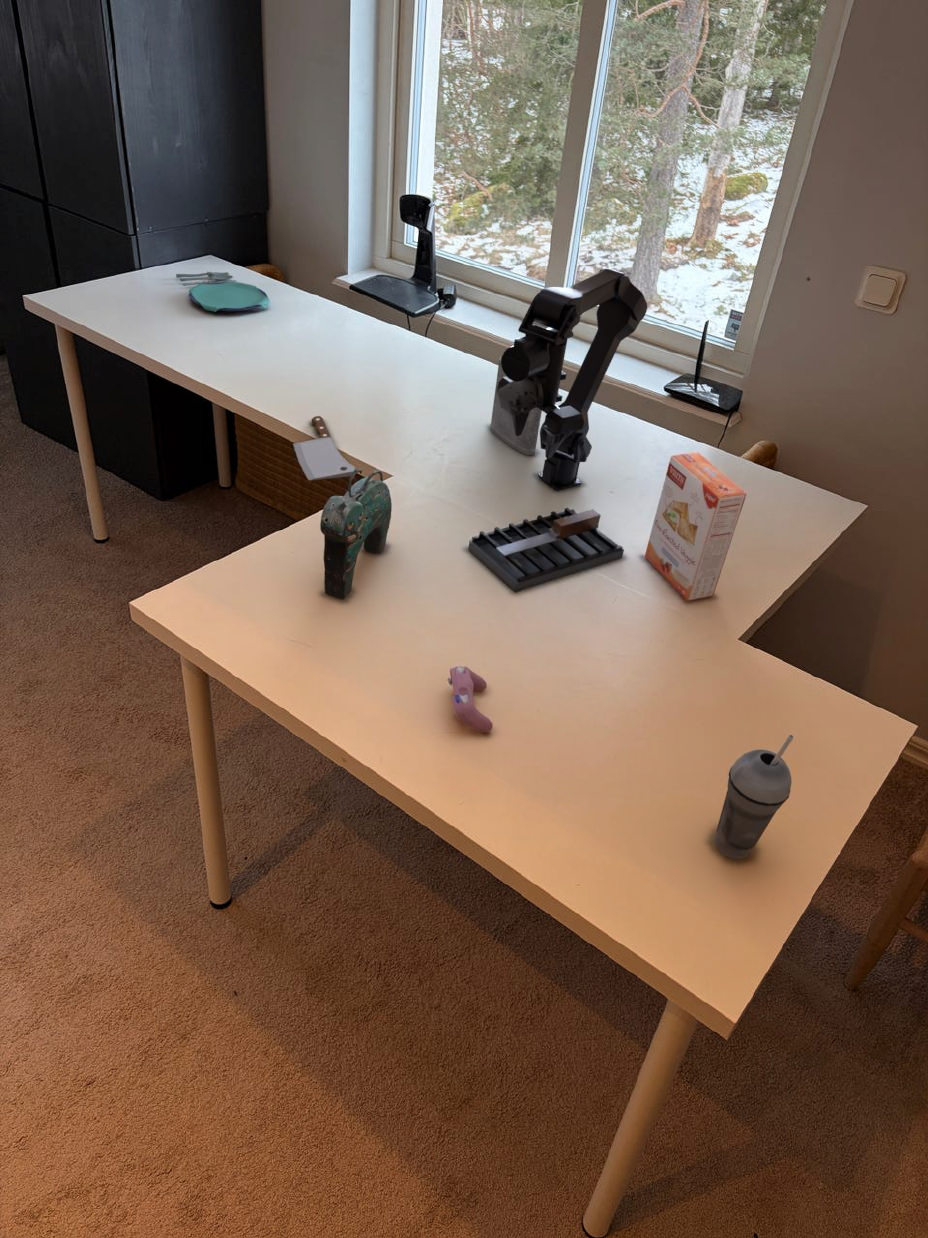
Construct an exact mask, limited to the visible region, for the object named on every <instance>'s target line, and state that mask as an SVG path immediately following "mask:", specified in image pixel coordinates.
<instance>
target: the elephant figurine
mask: <svg viewBox="0 0 928 1238" xmlns="http://www.w3.org/2000/svg"><path fill="white" fill-rule="evenodd" d="M358 473H359V474H360V475H361V474H362V473H363V469H360V468H357V469H355V471H354V472H353V473H352V475H351V476H349V479H348V487H347V491H346V492H345V494H344V495H333V496H331V497H329V498H328V500H327V501H326V503H325V504H324V507H323V508H322V509H323V510H322V513H321V516H320V522H319V523H320V527H319V529H320V533H321V534H322V535H324V537H323V538H324V542H323V543H324V545H323V548H324V549H323V566H324V573H323V574H324V575H323V576H324V577H323V578H324V580H323V583H324V594H325V595H329V596H331V597H333V598H337V599H341V600H345V599H346V598H347V596H348V595H349V594H350V593H351V592H352V587H353V581H354V576H355V575H354V574H355V569H356V565H357V562H358V557H359V554H360V551H361V549H362V548H363V551H366V552H370V553H372V554H381V553H382V552H383V551H384V550H385V548H386V544H387V537H388V533H389V529H390V525H391V519H392V508H393V507H392V506H393V504H392V496H391V493H390V492H391V491H390V489H389V486H388V485H387V484H386V482H384V479H383V472H382V470H379V469H377V470H374V471H373V472H371V473H370V474H369V475H368V476H367V477H363V478H360V480H358V481H356V482H355V483H354V484H352V482H353V480H354V478H355V476H356V474H358ZM377 474H379V476H380V477H379V479H376V478H373V476H376V475H377ZM351 484H352V485H351Z"/></svg>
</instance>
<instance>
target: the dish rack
mask: <svg viewBox="0 0 928 1238" xmlns="http://www.w3.org/2000/svg"><path fill="white" fill-rule="evenodd" d="M574 514H578V513H577V512H576V510H575V509H574V508H572V509H570V508H569V507H565V508H564V509H563V511H561V512H558V513H557V512H555V511H551V512H550V515H546V516H542V515H541V514H539V515H537V516H536V518H535V519H532V520H528V519H527V518H525V519H523V520H522V523H518V524H514V523H513V522H510V523H509V524H508V526H507V527H504V528H499V526H496V527H493V528H494V529H493V531H490V532H485V531H483V530H481V531H479V533H478V535H475V536H472V538H471V540H469V541H468V547H467V548H468V549H467V550H468V552H470V553H471V554H472V555H473V556H474V557H476V559H478V560H479V561H480V562H481V563H482V564H483V565H484V566H486V568H487V569H489V571H491V572H492V573H493V574H494V575H495V576H496V577H497V578H498V579H500V580H501V581H502V582H503V583H504V584H505V585H506V586H507V587H509V588H510V589H511V590H512V591H513V592H514V593H517V592H521V591H524V590H527V589H531V588H534V587H537V586H539V585H542V584H546V583H549V582H552V581H555V580H558V579H561V578H565V577H567V576H570V575H574V574H576V573H580V572H582V571H586V570H589V569H592V568H595V567H598V566H601V565H604V564H607V563H611V562H614V561H616V560H620V559H623V556H624V552H625V549H624V548H623V546H622V545H619V544H618V543H616V542H615V541H614V540H613V539H611V538H610V537H608V535H606V534H605V533H603V532H602V531H601V530H599V528H597V529H593V530H590V531H587V532H583V533H580V534H576V535H573V536H570V537H566V538H563V539H560V540H559V541H556V542H553V543H549V544H546V545H543V546H539V547H536V548H532V549H529V550H526V551H522V552H519V553H516V554H512V555H509V556H506V557H504V556H503V555H502V554H501V553H500V552H499V551H497V550H496V548H497V547H500V546H504V545H507V544H511V543H514V542H517V541H521V540H524V539H528V538H531V537H535V536H538V535H541V534H545V533H548V529H550V528H553V523H554V520H557V519H560V518H564V517H567V516H571V515H574Z"/></svg>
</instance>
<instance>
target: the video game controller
mask: <svg viewBox="0 0 928 1238" xmlns="http://www.w3.org/2000/svg"><path fill="white" fill-rule="evenodd" d="M449 675H450V677H448V678H447V682H448V684H449V686H451V687H452V691H453V697H452V699H451V701H452V706H453V710H454V713H455V715H456V717H457V720H458V721H460V722H462V723H464V724H465V725H467V726H468V727H469V728H471V729H473V730H475V731H477V732H482V733H489V732H490V731H491V730H492V729H493V726H494V725H493V722H492V721H491V719H490V718H489V717H488V716H485V715H484V714H483V713H482V712H481V711H480V710H478V709H477V708H476V706H475V699H474V691H475V692H483V691H485V690H486V689H487V685H488V684H487V681H486V680H485V679H484V678H483V677H482V676H481V675H479V674H477V673H475V672H474V671H472V669H470V668H469V667H468V666H464V665H463V666H455V667H452V668H450V669H449Z"/></svg>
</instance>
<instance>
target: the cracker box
mask: <svg viewBox="0 0 928 1238" xmlns="http://www.w3.org/2000/svg"><path fill="white" fill-rule="evenodd" d="M659 496H660V498H659V499H658V503H657V508H656V512H655V515H654V519H653V523H652V527H651V531H650V534H649V539H648V542H647V546H646V550H645V553H644V558H646V559H647V561H648V562H650V564H651V565H653V567H654V568H655V569H656V570H657V571H658V573H659V574H661V575H662V577H663V578H664V579H665V580H666V581H667V582H668V583H669V584H670V585H671V587H673V588H674V589H675V591H677V592H678V593H679V595H680V596H682V599H684V600H685V601H686V602H689V601H690V602H691V601H694V600H701V599H705V598H706V599H707V598H710V597H714V595H715V592H716V589H717V586H718V583H719V580H720V577H721V574H722V571H723V567H724V565H725V562H726V558H727V555H728V552H729V548H730V546H731V542H732V540H733V537H734V534H735V531H736V528H737V525H738V521H739V518H740V515H741V513H742V509H743V507H744V503H745V500H746V497H747V492H746V491H745V490H744V489H742V488H741V487H740V486H738V485H737V484H736V483H735V482H734V481H732V480H731V478H729V477H728V475H725V473H724V472H722V471H721V470H720V469H718V468H717V467H716V465H714V464H713V463H711V462H710V461H709V460H708V459H707V458H706V457H704V455H702V454H701V453H700V452H698V451H697V452H689V453H680V454H675V455H671V456H670V460H669V462H668V466H667V470H666V474H665V478H664V480H663V485H662V489H661V493H660V495H659Z"/></svg>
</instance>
